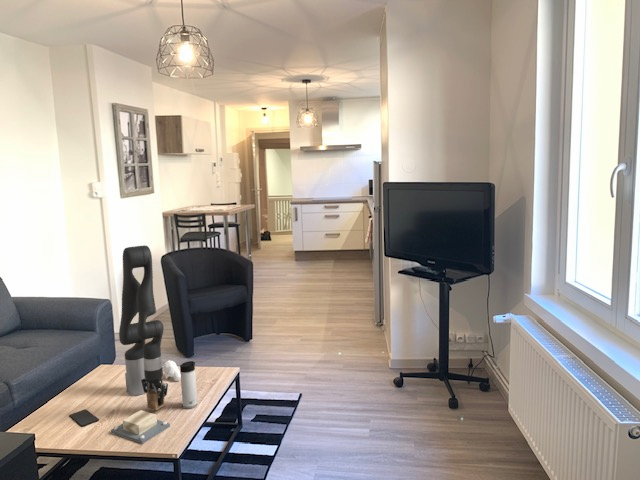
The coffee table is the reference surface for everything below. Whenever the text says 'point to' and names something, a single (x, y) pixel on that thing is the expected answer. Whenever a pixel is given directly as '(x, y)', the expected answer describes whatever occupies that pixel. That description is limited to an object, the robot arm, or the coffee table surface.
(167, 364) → the white lumpy piece
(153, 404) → the walnut block
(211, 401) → the coffee table surface
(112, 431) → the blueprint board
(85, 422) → the smartphone
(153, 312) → the robot arm
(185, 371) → the travel mug
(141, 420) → the birch plinth
